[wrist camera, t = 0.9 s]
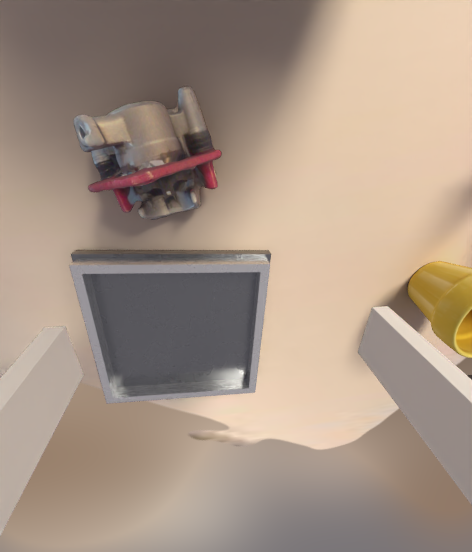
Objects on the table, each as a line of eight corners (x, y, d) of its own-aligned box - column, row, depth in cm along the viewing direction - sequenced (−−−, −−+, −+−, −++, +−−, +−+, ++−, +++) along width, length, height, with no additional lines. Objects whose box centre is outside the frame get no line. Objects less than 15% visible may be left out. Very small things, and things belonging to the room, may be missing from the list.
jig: (75, 250, 28) (62, 260, 25) (268, 250, 31) (274, 259, 28) (110, 388, 37) (103, 406, 35) (254, 378, 40) (257, 394, 38)
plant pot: (379, 294, 36) (435, 340, 27) (436, 234, 33) (521, 264, 24) (421, 321, 39) (483, 370, 31) (477, 269, 36) (564, 307, 27)
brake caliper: (132, 251, 26) (38, 197, 14) (113, 160, 28) (15, 47, 16) (236, 222, 26) (227, 143, 14) (210, 133, 28) (183, -1, 16)
